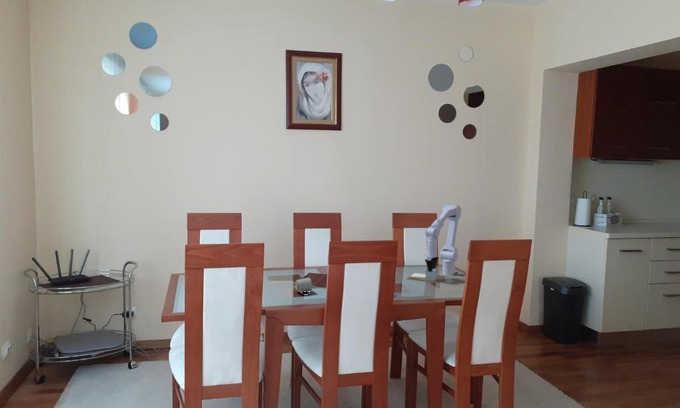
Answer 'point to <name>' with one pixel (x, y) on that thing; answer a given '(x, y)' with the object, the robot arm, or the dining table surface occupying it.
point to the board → (426, 280)
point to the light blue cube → (432, 275)
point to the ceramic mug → (303, 285)
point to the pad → (418, 275)
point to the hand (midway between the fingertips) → (431, 270)
